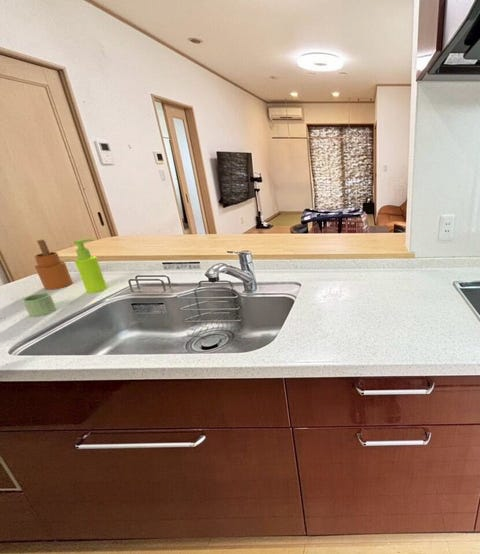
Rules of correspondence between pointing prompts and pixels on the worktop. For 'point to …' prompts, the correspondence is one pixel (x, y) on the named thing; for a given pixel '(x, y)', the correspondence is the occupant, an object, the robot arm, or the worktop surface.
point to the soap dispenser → (89, 268)
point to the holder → (39, 304)
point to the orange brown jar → (52, 271)
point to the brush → (43, 247)
